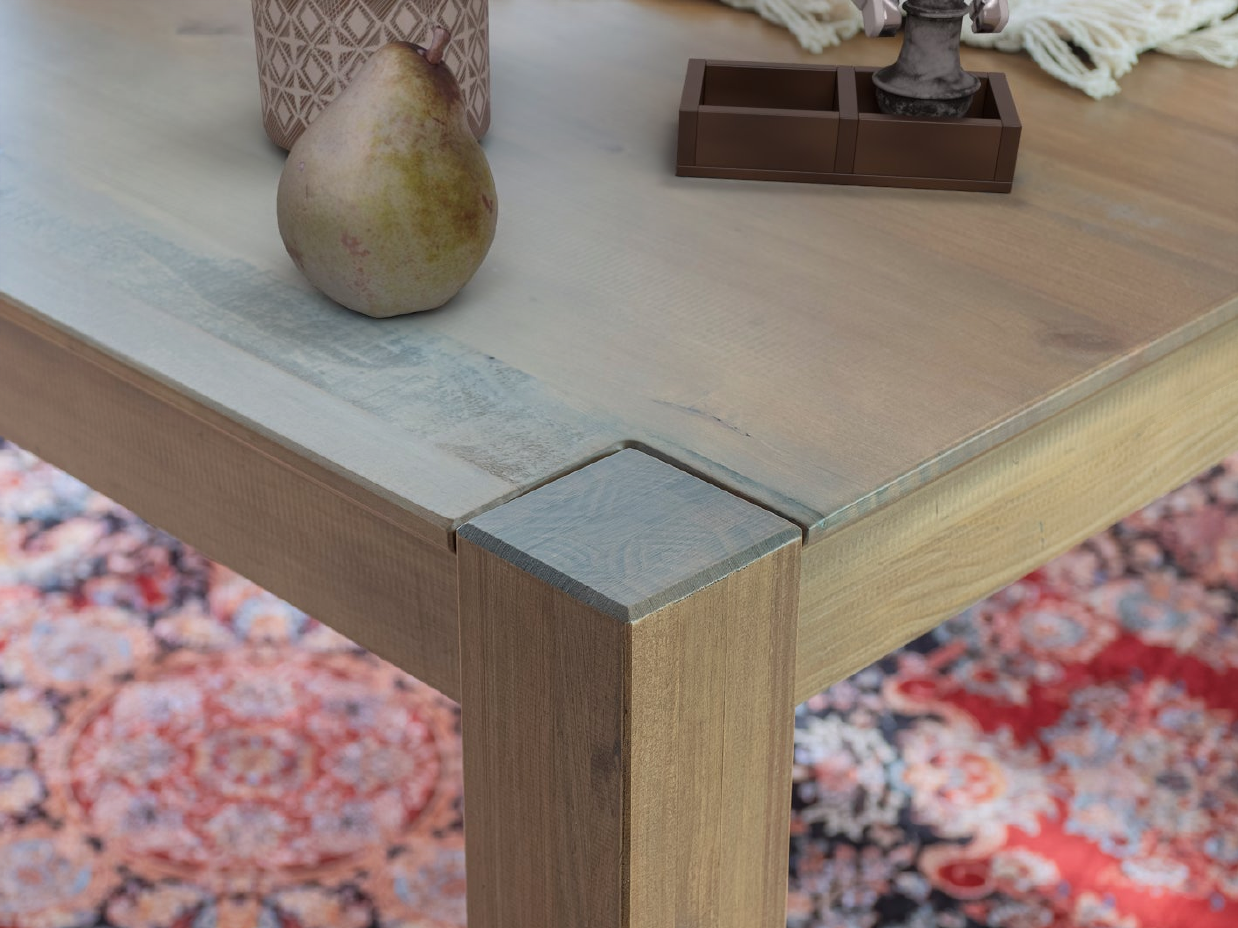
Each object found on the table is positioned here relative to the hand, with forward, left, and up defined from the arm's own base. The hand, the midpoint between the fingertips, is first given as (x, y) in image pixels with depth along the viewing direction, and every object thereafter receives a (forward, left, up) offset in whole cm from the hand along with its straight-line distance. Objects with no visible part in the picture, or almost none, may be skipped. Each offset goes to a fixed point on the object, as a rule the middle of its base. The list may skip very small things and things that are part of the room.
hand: (938, 30), depth 88 cm
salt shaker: (0, -1, -7) cm, 7 cm away
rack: (+4, -1, -7) cm, 8 cm away
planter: (+30, +1, -7) cm, 31 cm away
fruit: (+25, +22, -7) cm, 35 cm away
